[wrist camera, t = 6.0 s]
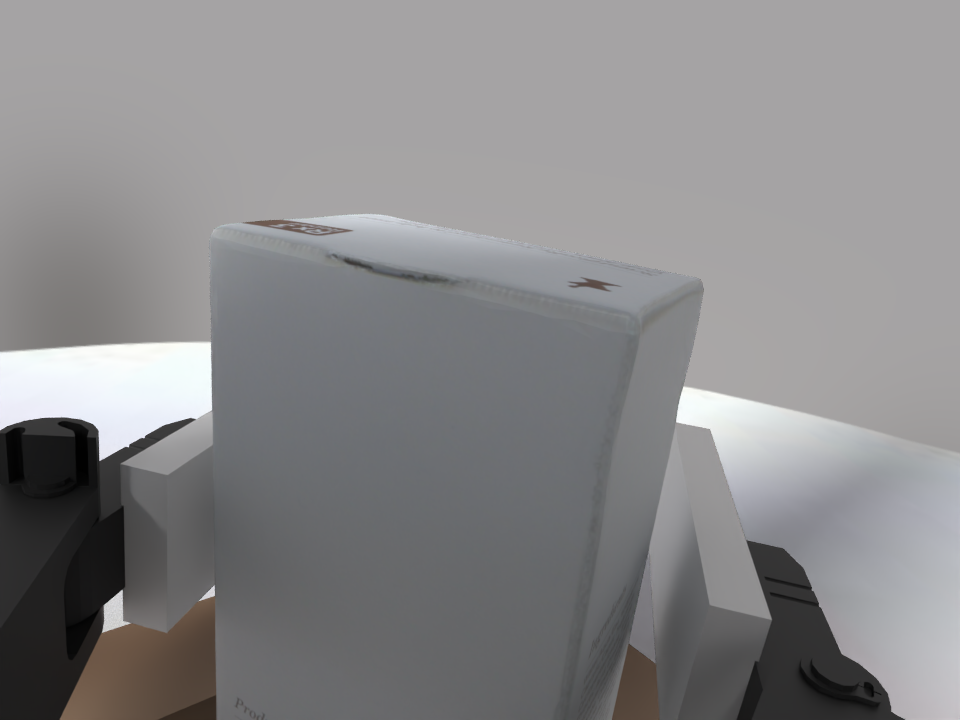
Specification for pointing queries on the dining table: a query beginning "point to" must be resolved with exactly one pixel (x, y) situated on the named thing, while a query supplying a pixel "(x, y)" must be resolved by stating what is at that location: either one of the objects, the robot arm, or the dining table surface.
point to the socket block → (192, 675)
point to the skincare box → (433, 468)
